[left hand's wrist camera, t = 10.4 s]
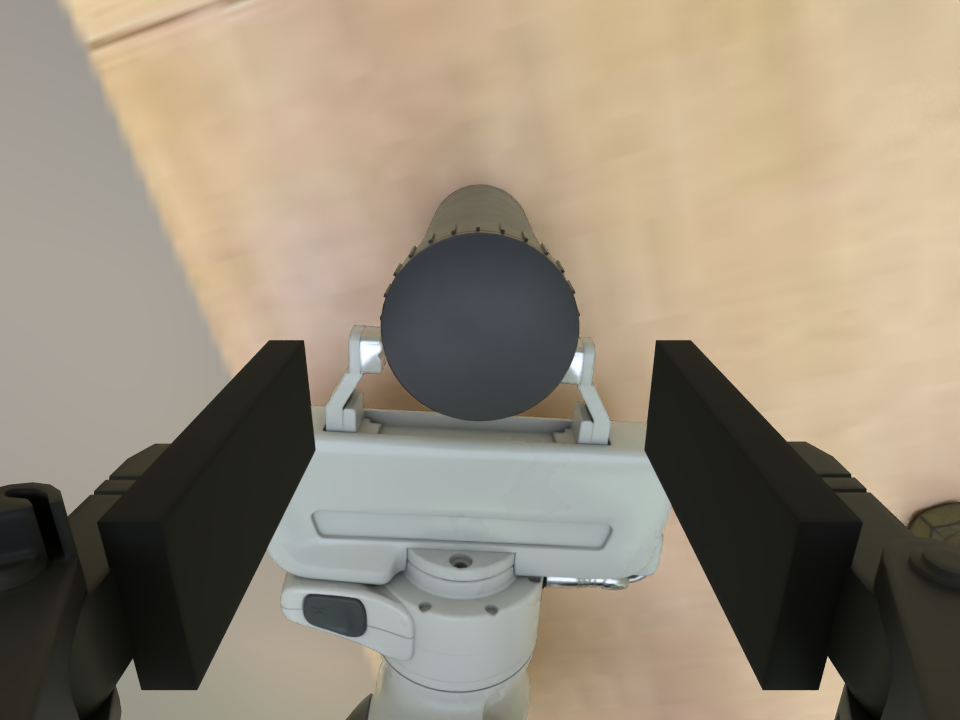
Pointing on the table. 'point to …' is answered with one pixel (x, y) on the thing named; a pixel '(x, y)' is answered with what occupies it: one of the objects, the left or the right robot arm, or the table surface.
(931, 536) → the grenade
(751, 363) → the table surface
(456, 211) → the dark grey cylinder
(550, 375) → the lid
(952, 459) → the table surface
